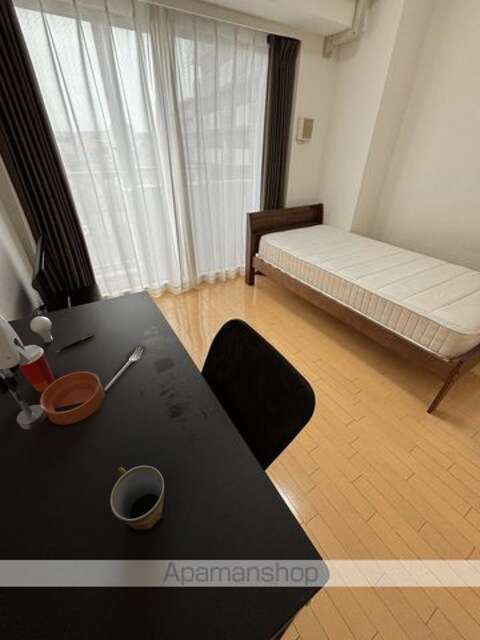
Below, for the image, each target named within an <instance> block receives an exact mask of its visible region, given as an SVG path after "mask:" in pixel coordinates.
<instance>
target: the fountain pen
mask: <svg viewBox="0 0 480 640" xmlns="http://www.w3.org/2000/svg"><path fill="white" fill-rule="evenodd" d="M94 337H95V334H91V335H88V336H85V337H83V338H80V339H79V340H76V341H74V342H73V343H70V344H68V345H66V346H64V347H62V348H59V349H58V350H57V351H55V353H59V352H63V351H65V350H68V349H70V348H73V347H75V346H77V345H79V344H81V343H84V342H87V341H88V340H90V339H92V338H94Z"/></svg>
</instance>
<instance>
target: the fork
mask: <svg viewBox="0 0 480 640" xmlns="http://www.w3.org/2000/svg"><path fill="white" fill-rule="evenodd" d="M143 352H144V348H143V347H142V346H137V347H136V349H135V350H134V351H133V353H132V354H131V356H130V357H129V358H128V361H127V362H126V363H125V364H124V365H123V367H122V368H121V369H120V370H119V371H118V372H117V373H116V375H115V376H114V377H113V378H112V379H111V380H110V382H109V383H108V384H107V385H106V386H105V388H103V390H104V392H107V391H108V390H109V389H110V387H111V386H112V385H113V384H114V383H115V382H116V381H117V379H118V378H119V377H121V375H122V374H123V373H124V371H125V370H126V369H127V368H128V367H129V366H130V365H131V364H132V362H133V363H134V362H138V361H139V360H140V359H141V356H142V354H143Z"/></svg>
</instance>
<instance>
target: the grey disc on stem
mask: <svg viewBox="0 0 480 640" xmlns="http://www.w3.org/2000/svg"><path fill="white" fill-rule="evenodd" d="M0 378H1V379H2V380H3V382H4V383H5V385H6V386H7V388H8V391H9V392H10V394H11V395H12V396H13V398H14V400H15V401H16V402H17V403H18V405H19V407H20V408H21V409H22V410H21V411H20V412H19V413H18V415H17V417H16V422H17V424H18V425H19V426H20V428H22V429H23V430H32V429H35V428H36V427H38V426H40V425H41V424H42V423H43V422H44V421H45V420H46V418H47V416H46V412H45V411H44V409H43V407H42V406H40V404H33V405H29V404H28V403H27V401H26V399H25V398H24V396H23V395H22V393H21V392H20V390H18V391H17V392H12V391H11V389H10V388H9V386H8V385H7V383H6V382H5V381H4V378H5V375H4V373H3V371H2V369H0Z"/></svg>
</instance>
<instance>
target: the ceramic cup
mask: <svg viewBox="0 0 480 640" xmlns="http://www.w3.org/2000/svg"><path fill="white" fill-rule="evenodd" d="M117 472H118V475H119V476H120V477H119V478H118V479H117V481H116V482H115V484H114V486H113V488H112V490H111V493H110V498H109V506H110V510H111V512H112V513H113V515H114V516H115V517H116V518H117V519H118V520H119V521H120V522H122V523H124V524H126V525H128V526H129V527H131V528H133V529H134V530H136V531H138V530H139V531H140V530H150V529H151V528H152V527H153V526H154V525H155V524H156V523H157V522H158V521H160V519H161V518H162V516H163V509H164V499H165V481H164V477H163V475H162V474H161V473H162V472H160V471H159V469H157V468H156V467H153V466H151V465H139V466H135V467H133V468H131V469H129V470H125V468H123V467H122V466H119V467H117ZM146 495H155V496H156V497H158V500H157V501H156V503H155V504H154V506H153V507H152V508H151V509H150V510H149V511H147V512H146V513H145V514H143V515H141V516H139V517H136V518H131V513H132V509H133V506H134V504H135V503H136V502H137V501H138V500H139V499H140V498H142V497H143V496H146Z"/></svg>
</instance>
